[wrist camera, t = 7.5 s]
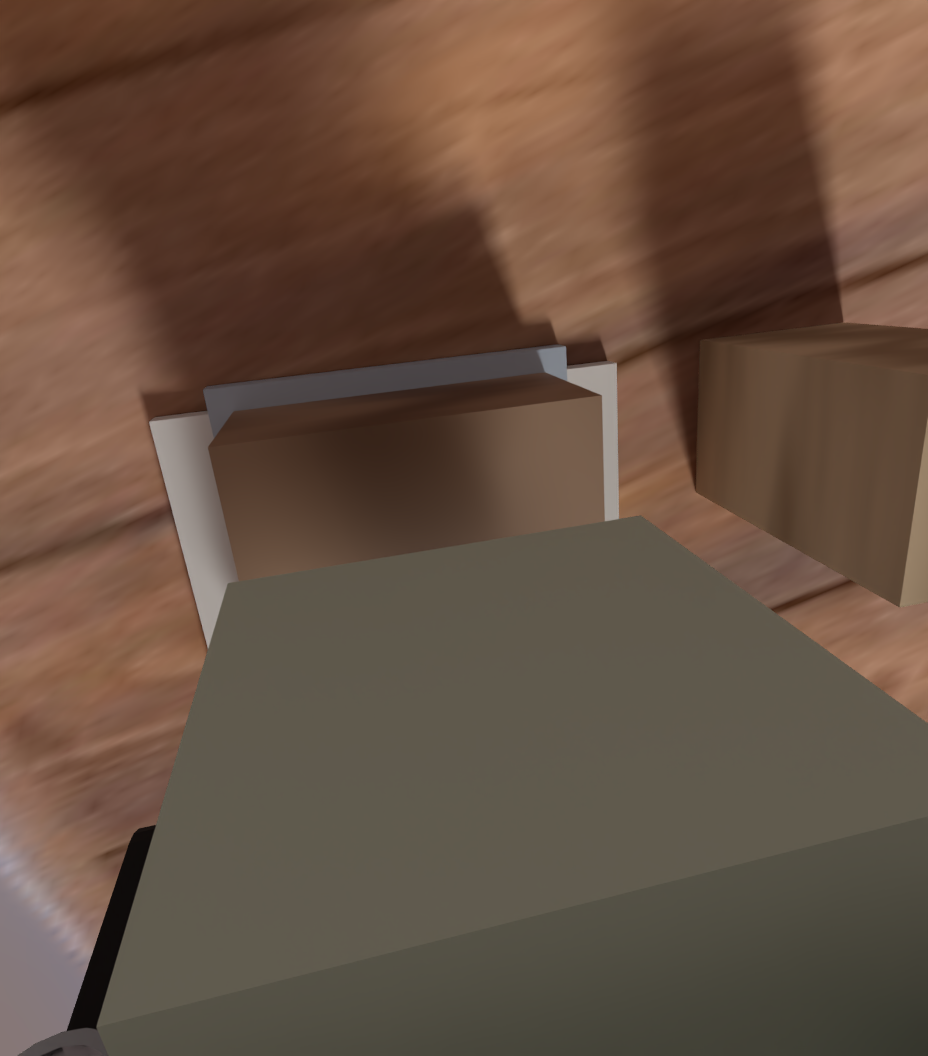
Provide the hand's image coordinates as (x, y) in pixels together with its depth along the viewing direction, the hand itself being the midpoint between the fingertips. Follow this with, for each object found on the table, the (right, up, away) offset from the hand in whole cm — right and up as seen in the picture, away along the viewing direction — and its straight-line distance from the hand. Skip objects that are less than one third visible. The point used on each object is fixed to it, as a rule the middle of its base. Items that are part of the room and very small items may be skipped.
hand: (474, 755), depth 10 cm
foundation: (-2, +3, +9) cm, 9 cm away
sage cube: (0, 0, +1) cm, 1 cm away
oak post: (+9, +7, +10) cm, 15 cm away
